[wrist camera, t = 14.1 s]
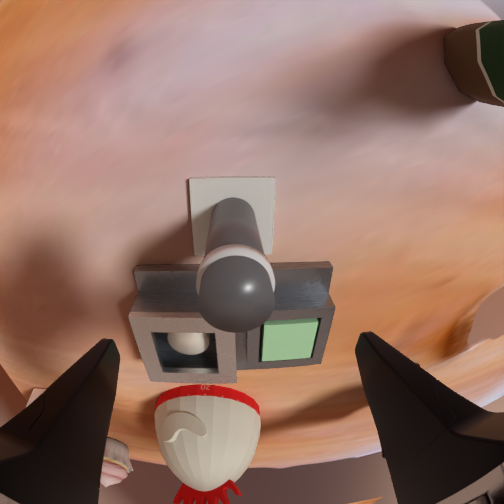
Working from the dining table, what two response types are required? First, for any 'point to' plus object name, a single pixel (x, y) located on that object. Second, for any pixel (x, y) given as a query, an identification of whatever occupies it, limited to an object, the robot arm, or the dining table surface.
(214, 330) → the grey flat framed piece
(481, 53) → the beer bottle
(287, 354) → the on button
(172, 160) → the dining table surface
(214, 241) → the gray capped cylinder
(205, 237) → the pad
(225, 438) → the kitchen timer
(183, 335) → the button
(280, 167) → the dining table surface
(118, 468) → the cupcake
